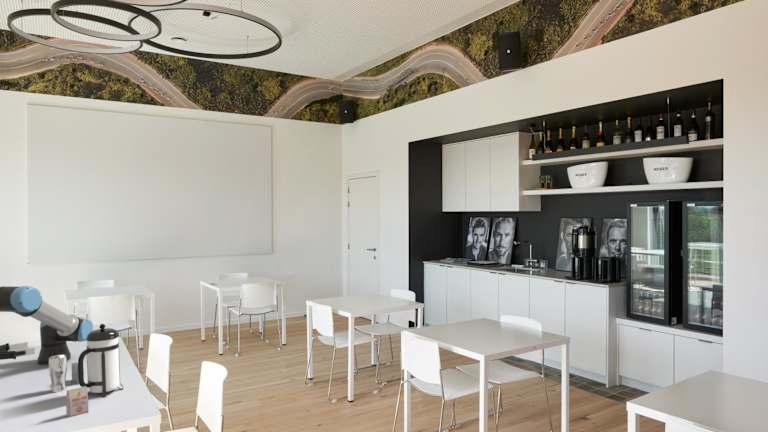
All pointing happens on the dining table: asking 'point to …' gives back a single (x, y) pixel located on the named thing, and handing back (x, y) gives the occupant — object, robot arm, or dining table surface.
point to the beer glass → (58, 372)
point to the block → (75, 373)
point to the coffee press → (101, 361)
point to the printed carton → (77, 401)
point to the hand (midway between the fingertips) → (31, 347)
